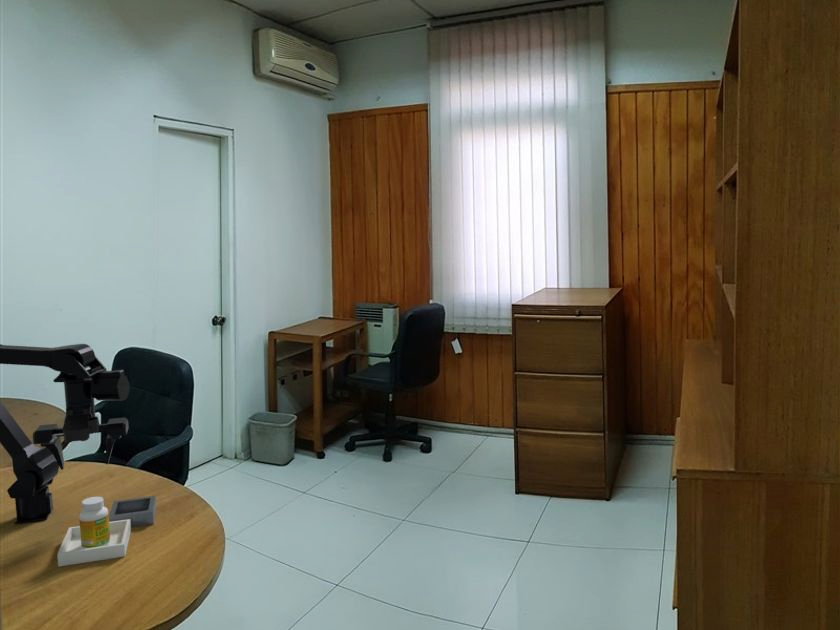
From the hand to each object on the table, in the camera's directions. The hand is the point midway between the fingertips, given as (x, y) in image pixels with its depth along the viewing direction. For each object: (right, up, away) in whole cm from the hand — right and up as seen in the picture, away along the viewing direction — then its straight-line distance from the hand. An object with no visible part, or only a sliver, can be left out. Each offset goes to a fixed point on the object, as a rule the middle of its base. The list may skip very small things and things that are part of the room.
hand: (85, 466), depth 145 cm
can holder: (+11, -12, 0) cm, 16 cm away
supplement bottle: (+9, -13, -13) cm, 21 cm away
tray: (+9, -14, -13) cm, 21 cm away
